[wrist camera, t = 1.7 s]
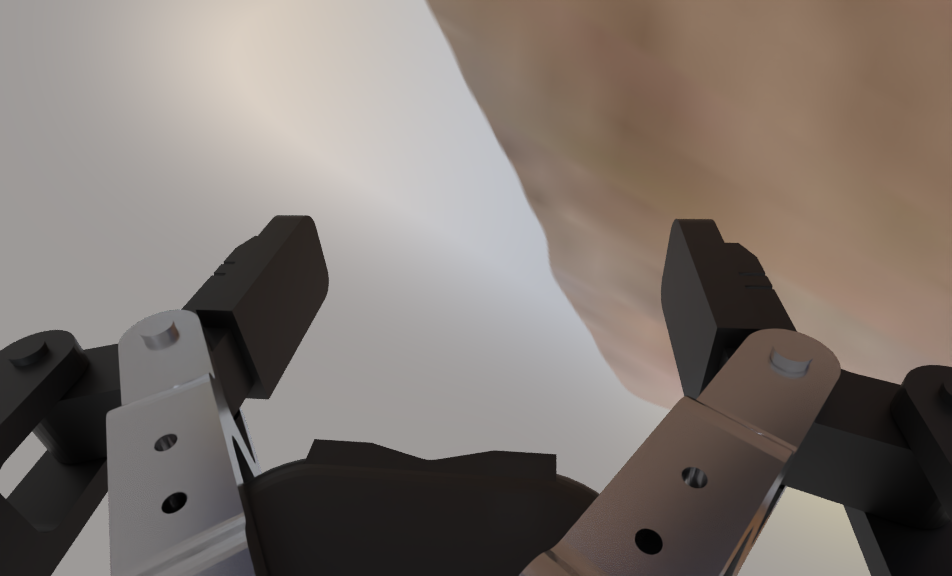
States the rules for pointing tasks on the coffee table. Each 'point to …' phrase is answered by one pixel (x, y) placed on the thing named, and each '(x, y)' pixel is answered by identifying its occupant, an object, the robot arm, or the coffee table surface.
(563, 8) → the coffee table surface
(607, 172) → the coffee table surface
